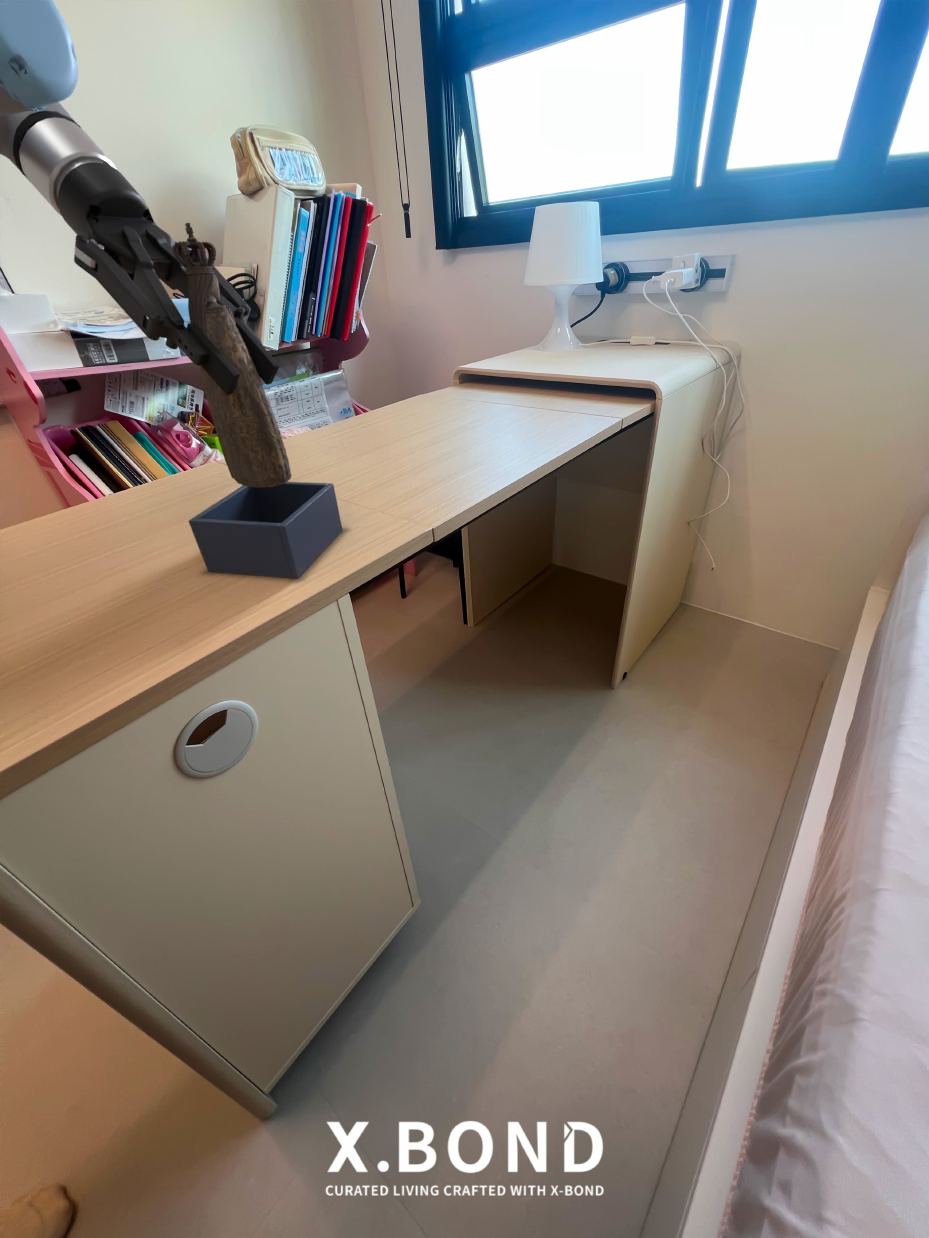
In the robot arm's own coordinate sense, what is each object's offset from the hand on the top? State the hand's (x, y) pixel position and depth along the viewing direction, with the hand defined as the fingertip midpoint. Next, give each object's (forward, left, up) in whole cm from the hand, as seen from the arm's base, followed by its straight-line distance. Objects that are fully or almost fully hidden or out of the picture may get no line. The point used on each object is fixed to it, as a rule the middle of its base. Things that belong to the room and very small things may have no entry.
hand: (253, 379), depth 54 cm
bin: (-4, +1, -21) cm, 22 cm away
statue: (-3, +2, -12) cm, 12 cm away
